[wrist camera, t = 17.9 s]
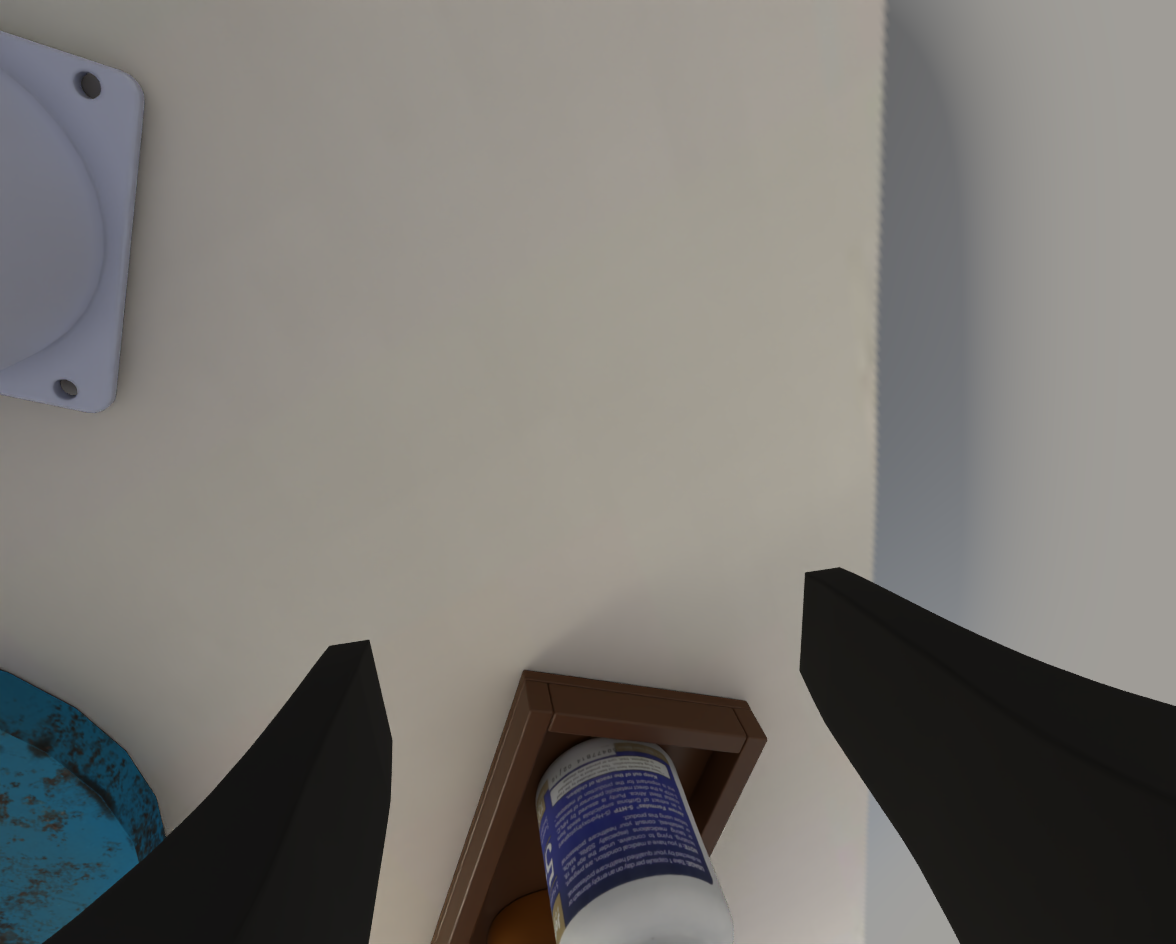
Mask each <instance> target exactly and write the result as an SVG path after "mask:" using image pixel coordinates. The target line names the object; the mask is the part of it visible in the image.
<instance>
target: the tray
mask: <svg viewBox="0 0 1176 944" xmlns="http://www.w3.org/2000/svg"><path fill="white" fill-rule="evenodd" d="M596 737H601V738H609V739H618V740H627V741H635V742H644V743H653V744H657V745H658V746H659V747H661V748H662V749H663V750H664V751H665V752H666V753H667V754H668V756H669V757H670V759H671V760H672V762H673V764H674V767H675V769H676V772H677V774H678V777H679V780H680V782H681V785H682V788H683V790H684V793H685V796H686V799H687V802H688V804H689V807H690V810H691V812H692V815H693V817H694V820H695V823H696V825H697V828H698V831H699V833H700V836H701V838H702V841H703V844H704V846H705V849H706V851H707V854H708V856H709V857H710V855H711V853H712V851H713V849H714V847H715V845H716V843H717V841H718V839H719V837H720V835H721V833H722V831H723V829H724V827H725V825H726V823H727V821H728V819H729V817H730V815H731V813H732V811H733V809H734V807H735V805H736V803H737V801H738V799H739V797H740V795H741V793H742V790H743V788H744V786H745V784H746V782H747V780H748V778H749V776H750V774H751V772H752V770H753V768H754V766H755V764H756V762H757V760H758V758H759V756H760V754H761V752H762V750H763V748H764V746H765V744H766V742H767V737H766V735H765V734H764V732H763V730H762V728H761V726H760V725H759V723H758V721H757V719H756V718H755V716H754V714H753V712H752V711H751V709H750V707H749V705H748V703H747V702H746V701H742V700H735V699H728V698H721V697H714V696H707V695H700V694H692V693H685V692H678V691H671V690H664V689H657V688H649V687H642V686H635V685H628V684H621V683H614V682H607V681H599V680H592V679H585V678H578V677H571V676H564V675H557V674H549V673H542V672H535V671H528V670H524V671H523V673H522V676H521V679H520V682H519V685H518V688H517V691H516V694H515V697H514V700H513V703H512V706H511V709H510V712H509V715H508V717H507V720H506V723H505V726H504V729H503V732H502V735H501V738H500V741H499V744H498V747H497V750H496V753H495V756H494V759H493V762H492V765H491V768H490V771H489V773H488V776H487V779H486V782H485V785H484V788H483V791H482V794H481V797H480V800H479V803H478V806H477V809H476V812H475V815H474V818H473V821H472V824H471V827H470V829H469V832H468V835H467V838H466V841H465V844H464V847H463V850H462V853H461V856H460V859H459V862H458V865H457V868H456V871H455V874H454V877H453V880H452V883H451V885H450V888H449V891H448V894H447V897H446V900H445V903H444V906H443V909H442V912H441V915H440V918H439V921H438V924H437V927H436V930H435V933H434V936H433V939H432V941H431V944H487V935H488V931H489V928H490V926H491V924H492V922H493V921H494V919H495V918H496V916H497V915H498V914H499V913H500V912H501V911H502V910H503V909H504V908H505V907H506V906H508V905H509V904H511V903H512V902H514V901H515V900H517V899H519V898H521V897H523V896H525V895H528V894H530V893H533V892H537V891H540V890H545V889H548V886H547V880H546V873H545V866H544V859H543V852H542V846H541V840H540V833H539V827H538V820H537V812H536V792H537V788H538V785H539V783H540V780H541V778H542V776H543V775H544V773H545V772H546V770H547V769H548V767H549V766H550V765H551V764H552V763H553V762H554V761H555V760H556V759H557V758H558V757H559V756H560V755H562V754H563V753H564V752H566V751H567V750H569V749H570V748H572V747H574V746H576V745H577V744H579V743H582V742H584V741H587V740H589V739H592V738H596Z"/></svg>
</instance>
